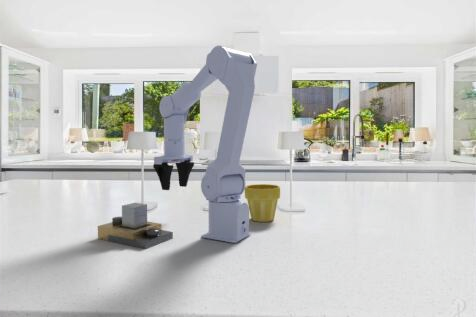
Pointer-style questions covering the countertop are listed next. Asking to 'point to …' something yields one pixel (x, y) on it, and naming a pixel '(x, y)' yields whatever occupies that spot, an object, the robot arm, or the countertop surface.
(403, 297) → the countertop surface
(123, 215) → the grey metal block
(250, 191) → the plant pot
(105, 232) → the brass plate with knob
